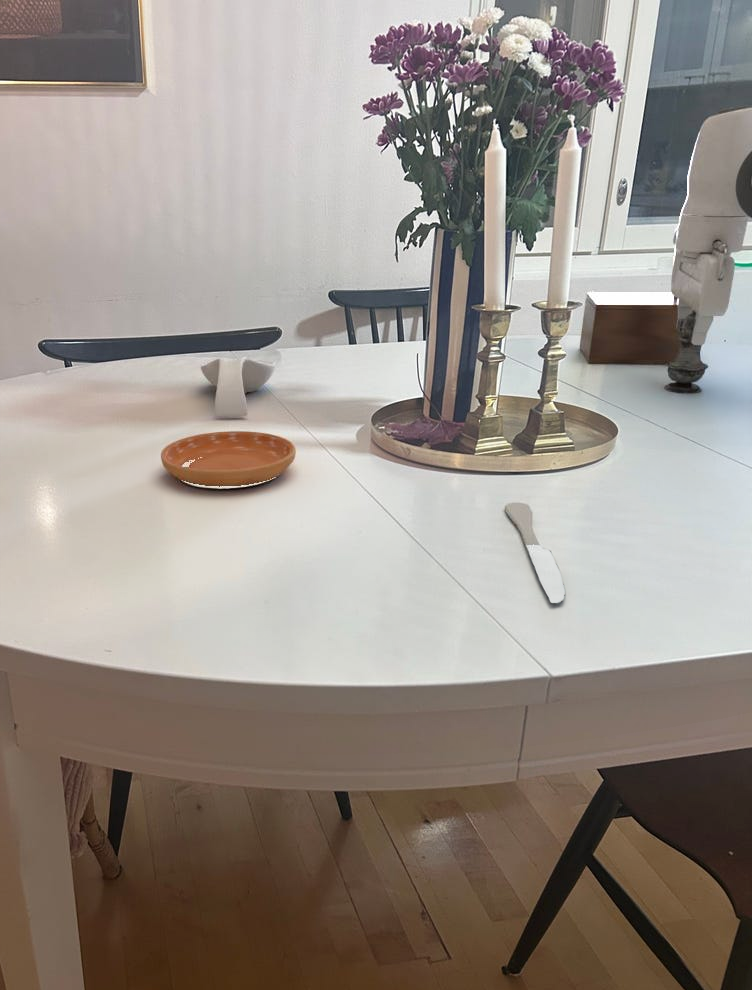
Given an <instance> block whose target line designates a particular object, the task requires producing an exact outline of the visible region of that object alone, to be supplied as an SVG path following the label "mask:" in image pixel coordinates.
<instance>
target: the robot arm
mask: <svg viewBox="0 0 752 990" xmlns="http://www.w3.org/2000/svg"><path fill="white" fill-rule="evenodd" d="M699 129H700V130H699V132H698V135H697V137H696V141H695V144H694V148H693V152H692V156H691V160H690V165H689V169H688V174H687V196H686V199H685V202H684V204H683V207H682V208H681V212H680V216H679V222H678V225H677V227H676V228H675V230H674V232H673V239H672V243H673V245H674V255H673V262H672V270H671V280H670V290H671V291H670V293H672V295H674V296H675V297H676V298H678V299H679V302H678V321H677V326H676V329H677V330H678V331H679V332H683V330H684V324H685V319H686V317H687V316H688V315H689V314H691V313H692V311H695V312H696V317H695V320H696V321H695V325H694V329H693V330H692V332H691V337H690V342H691V343H692V344H693V345H702V346H703V345H704V344H705V343H706V341H707V336H708V332H709V330H710V328H711V326H712V324H713V322H714V318H715V317H724V316H725V314H726V312H727V310H728V308H729V304H730V299H731V294H732V288H733V281H734V276H735V265H736V264H735V259H734V258H733V257H732V256H731V255H732V254H734V253H739V252H741V251H742V249H743V245H744V239H745V235H746V231H747V226H748V222H749V218H750V219H752V103H751V104H746V105H743V104H742V105H738V106H733V107H729V108H723V109H721V110H717V111H716V112H714V113H712V114H711V115H709V116H708V117H707V118H706V119H705V120H704V121H703V123H702V125H701V127H700V128H699Z"/></svg>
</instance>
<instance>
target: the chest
mask: <svg viewBox="0 0 752 990" xmlns="http://www.w3.org/2000/svg"><path fill="white" fill-rule="evenodd" d="M693 312H695V311H692V313H693ZM677 321H678V310H654V309H595V307H594V306H593V305H592V304H591V302H590V301H589V300H588V299H587V297H586V296H585V303H584V310H583V317H582V325H581V332H580V333H581V334H580V339H579V340H580V341H579V347H578V348H579V350H580V352H581V353H582V355H583V357H584V359H585V361H586V362H587V364H589V365H591V364H592V365H660V366H661V365H666V364H667V363H668V362H671V361H673V360H675V359H676V357H677V355H678V353H679V349H680V343H681V340H680V339H679V338H680V337H682V335H683V332H679V331H678V330H677V329H676V326H677ZM666 366H667V365H666Z"/></svg>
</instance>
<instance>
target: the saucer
mask: <svg viewBox="0 0 752 990" xmlns="http://www.w3.org/2000/svg"><path fill="white" fill-rule="evenodd" d="M296 452H297V448H296V446H295V444H294V443H293V442H292V441H290V440H288V438H285V437H282V436H280V435H275V434H271V433H266V432H260V431H259V432H258V431H249V430H247V431H246V430H245V431H244V430H231V431H230V430H227V431H216V432H214V431H213V432H206V433H201V434H200V433H199V434H196V435H191V436H186V437H184V438H181V439H177V440H175V441H173V442H172V443H169V444H168V445H166V446H165V447H163V449H162V451H161V453H160V459H161V464H162V466H163V468H164V469H165V470H166V471H168V472H169V474H170V475H172V476H174V477H175V478H176V477H177V478H178V479H177V478H176V479H177V480H179V479H180V480H183V481H186V482H189V483H193V484H199V485H205V486H219V487H220V486H241V485H249V484H254V483H259V482H263V481H267V480H270V479H272V478H274V477H277V476H278V477H280V476H281V474H282V473H284V472H285V471H286V470H287V469H288V468H289V467H290V465H292V463H294V461H295V458H296V454H297V453H296ZM200 457H202V458H200ZM198 458H199V459H198ZM194 459H195V461H194V462H192V463H190V465H189V467H182V465H183V464H184V463H185V462H189V460H194ZM190 462H191V461H190ZM278 477H277V478H278ZM180 480H179V481H180Z"/></svg>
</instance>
